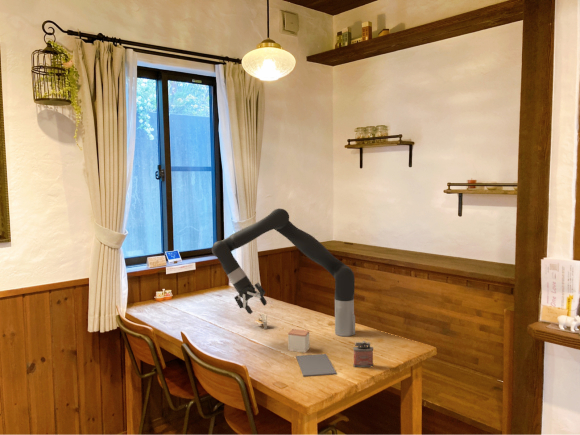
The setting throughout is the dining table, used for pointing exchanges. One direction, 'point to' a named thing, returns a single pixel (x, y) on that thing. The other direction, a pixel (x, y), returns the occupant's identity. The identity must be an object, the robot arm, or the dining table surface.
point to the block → (298, 340)
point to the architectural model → (263, 321)
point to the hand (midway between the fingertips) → (258, 309)
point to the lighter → (363, 354)
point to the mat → (315, 365)
